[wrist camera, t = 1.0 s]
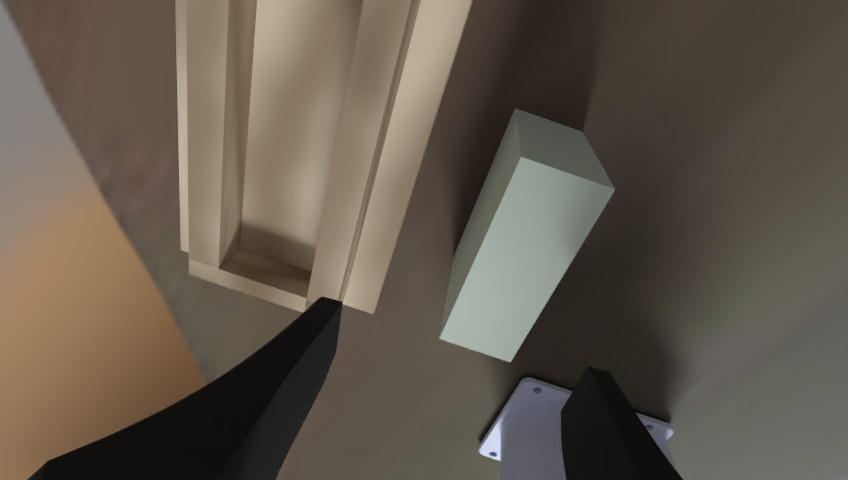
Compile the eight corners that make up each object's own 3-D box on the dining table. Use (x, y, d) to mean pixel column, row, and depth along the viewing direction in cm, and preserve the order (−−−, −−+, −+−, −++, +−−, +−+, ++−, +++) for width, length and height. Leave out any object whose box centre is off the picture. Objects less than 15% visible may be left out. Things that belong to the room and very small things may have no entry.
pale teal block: (582, 131, 18) (615, 189, 13) (508, 275, 22) (510, 362, 17) (514, 107, 18) (521, 156, 13) (453, 256, 22) (439, 338, 17)
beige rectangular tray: (486, -41, 15) (483, -46, 13) (377, 302, 24) (363, 340, 22) (190, -147, 15) (127, -174, 12) (192, 240, 24) (155, 271, 21)
